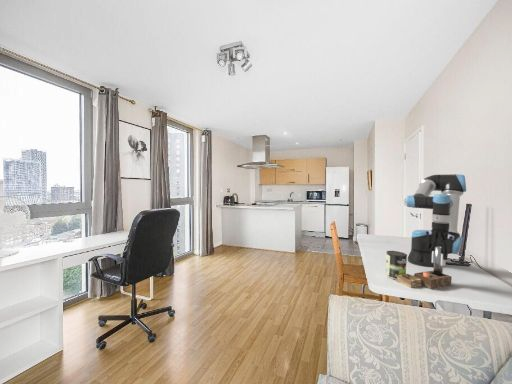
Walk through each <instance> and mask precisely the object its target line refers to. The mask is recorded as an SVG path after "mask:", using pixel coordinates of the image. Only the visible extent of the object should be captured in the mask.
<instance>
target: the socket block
mask: <svg viewBox="0 0 512 384" xmlns="http://www.w3.org/2000/svg"><path fill="white" fill-rule="evenodd" d="M423 272H424V271H421V272H415V273H414V275H413V276H415V277H417V278H420V279H422V285H421V287H424V288H426V289H429V290H434V289H435V288H436V289H440V287H441V288H446V287H451V286H452V277H453V276H451V275H448V274H445V273H443V274H442V276H441V277H439V276H437V275H434V274H433V270H429V271H426V272H427V273H430V278H427V277H424V276H423ZM445 286H446V287H445Z"/></svg>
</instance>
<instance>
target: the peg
mask: <svg viewBox="0 0 512 384" xmlns="http://www.w3.org/2000/svg"><path fill="white" fill-rule="evenodd" d="M441 253H443V251H442V247H440V246H435V249H434V266H433V268H432V269H433V270H432V271H433V274H434V275H437V276H439V277H441V276H442V274H444V273H443V270H444V265H443V266H441Z"/></svg>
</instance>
